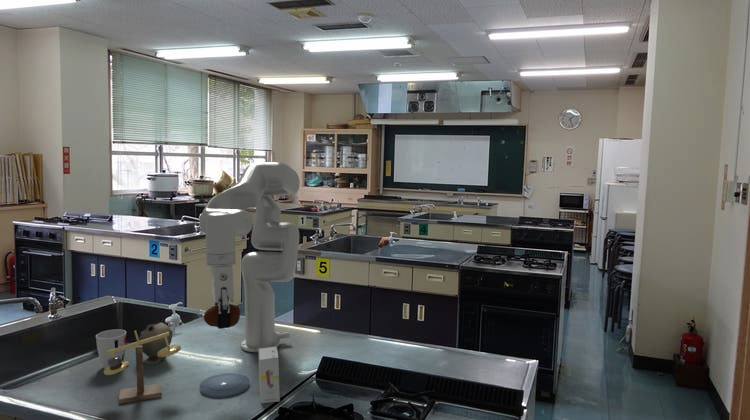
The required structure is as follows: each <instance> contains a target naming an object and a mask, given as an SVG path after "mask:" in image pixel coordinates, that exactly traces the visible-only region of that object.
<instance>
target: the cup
mask: <svg viewBox="0 0 750 420" xmlns="http://www.w3.org/2000/svg"><path fill="white" fill-rule="evenodd" d="M95 339H96V349H97V353H98V358H99V362H100V364H101V365H102V368H103V370H105V369H106V368H107V367H109V364H108V361H107V360H108V359H110V358H112V355H111V354H109V355H108V354H107V351H109V350H112V349H115V348H118V347H121V346H125V345H127V331H126V330H124V329H121V328H120V329H118V328H117V329H107V330H104V331H101V332H99V333H97V334H96V335H95ZM125 355H126V349H125V350H122V351H119V352H116V353H114V356H120V358H121V361H122V362H123V361H124V360H125Z"/></svg>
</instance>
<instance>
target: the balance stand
mask: <svg viewBox="0 0 750 420" xmlns="http://www.w3.org/2000/svg"><path fill="white" fill-rule="evenodd" d="M134 349H135V365H136V366H135V368H136V370H135V371H136V386H135V387H128V388H122V389H119V395H118V396H119V398H118V399H119V400H118V403H119V405H121V404H127V403H133V401H134V402H137V401H138V402H140V401H145V400H150V399H156V398H163V397H162V396H163V395H162V383H154V384H149V385H145V378H144V376H145V375H144V355H143V354H144V353H143V350H142V345H141V346H135V348H134Z"/></svg>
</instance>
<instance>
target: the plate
mask: <svg viewBox="0 0 750 420" xmlns="http://www.w3.org/2000/svg"><path fill="white" fill-rule="evenodd" d="M249 387H250V379H249V377H247V375H244V374H242V373H237V372H235V373H233V372H229V373H228V372H227V373H225V372H224V373H219V374H214V375H212V376H209V377H206V378H205V379H204V380H202V381H201V382H200V384H199V392H200V393H201V394H202V395H204V396H206V397H209V398H227V397H232V396H236V395H239V394H241V393H244V391H247V389H248V388H249Z"/></svg>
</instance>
